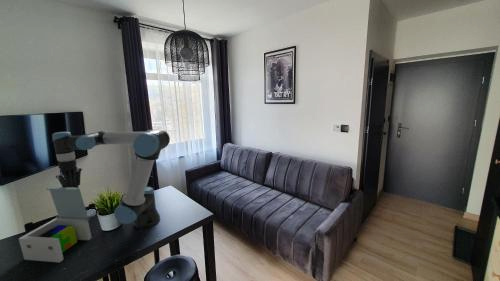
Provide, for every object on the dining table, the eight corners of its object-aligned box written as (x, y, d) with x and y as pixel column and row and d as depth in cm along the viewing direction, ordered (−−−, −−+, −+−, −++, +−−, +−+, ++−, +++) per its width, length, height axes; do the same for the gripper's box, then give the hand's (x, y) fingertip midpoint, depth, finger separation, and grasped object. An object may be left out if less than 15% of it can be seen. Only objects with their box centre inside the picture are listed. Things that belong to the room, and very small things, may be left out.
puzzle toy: (61, 240, 115) (58, 225, 113) (77, 242, 114) (73, 226, 112) (42, 254, 106) (37, 237, 103) (58, 255, 104) (54, 238, 102)
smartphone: (100, 205, 153) (94, 215, 140) (100, 206, 153) (94, 216, 140) (88, 207, 151) (81, 217, 137) (89, 208, 151) (81, 218, 137)
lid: (85, 220, 113) (88, 218, 115) (75, 189, 108) (79, 187, 110) (56, 219, 115) (60, 216, 117) (46, 188, 110) (50, 186, 112)
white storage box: (94, 237, 118) (90, 216, 115) (60, 263, 99) (54, 238, 96) (62, 235, 120) (57, 214, 117) (23, 260, 101) (16, 236, 99)
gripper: (72, 156, 118) (79, 193, 123) (47, 163, 106) (57, 204, 111) (83, 156, 118) (90, 194, 122) (60, 163, 105) (69, 205, 110)
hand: (74, 199), depth 116 cm, fingers closed
